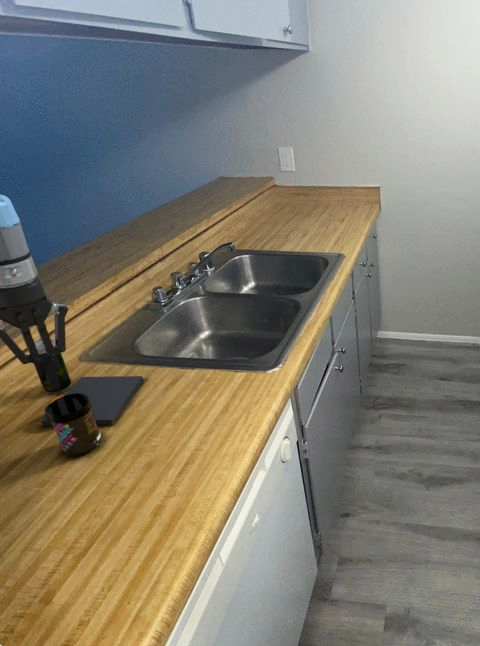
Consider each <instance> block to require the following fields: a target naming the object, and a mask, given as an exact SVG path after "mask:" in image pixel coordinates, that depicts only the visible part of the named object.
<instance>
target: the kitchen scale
mask: <svg viewBox="0 0 480 646" xmlns="http://www.w3.org/2000/svg"><path fill="white" fill-rule="evenodd" d="M143 382H144V376H143V375H127V376H126V375H125V376H124V375H121V376H119V375H117V376H116V375H115V376H113V375H112V376H81V377H80V378H79V379H78V380H77V381H76V382H75V383H74V384H73V385H72V386H71V387H70V388H69V389H68V391H67V392H66V393H65V395H63V396H66V395H69V394H77V393H79V394H85V395H87V396H88V398H89V401H90V403H91V407H92V410H93V413H94V416H95V419H96V422H97V425H98V426H113V425H115V422H116V421H117V420H118V418H119V417H120V415H122V412H123V411H124V409H126V407H127V405H128V404H129V403H130V401H131V399H132V398H133V397H134V395H135V394H136V392H137V391H138V390H139V388H140V386H141V385H142V384H143ZM50 404H51V402H50V403H48V404H47V405H46V406H45V407H44V415H45V416H44V418H42V420H41V421H40V422H41V425H42V427H53V424H52V422H51V420H50V418H49V415H48V413H47V407H48V406H49V405H50Z"/></svg>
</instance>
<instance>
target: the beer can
mask: <svg viewBox="0 0 480 646" xmlns="http://www.w3.org/2000/svg"><path fill="white" fill-rule="evenodd" d="M50 339H51V342H52V344H53V347H54V346H55V338H50ZM34 343H35V345H36V348H37V350H38V353H39V355H40V357H42V356H45V355H47V353H46V351H45V348H44V345H43V343H42V340H41V339H38V340H36V341H35V340H34ZM57 359H58V361H59V364H60V367H61V369H60V370H58V371H55V372H56V374H57V377H58V380H59V382H60V385H61V386H60V387H57V388H55V389H52V388H51V386H50V384H49V382H48V380H47V377H46V375H43V376H40V375H39V374H38V373H37V372H36V373H37V374H36V375H37V376H38V379H39V381H40V383H41V386H42V389H43V391H45V393H47V394H49V395H57V394H58V395H59V394H61V393H63V392H65V391H67V390H69V389H70V388H71V387H72V386H71V385H72V380H71V376H70V374H69V371H68V367H67V366H66V363H65V360H64V358H63V354H62V352H61V353H59V354H58V355H57ZM34 368H35V367H34ZM35 370H36V368H35Z"/></svg>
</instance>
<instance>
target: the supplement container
mask: <svg viewBox="0 0 480 646" xmlns="http://www.w3.org/2000/svg"><path fill="white" fill-rule="evenodd" d="M62 396H63V397H61V396H59V397H60V398H58V397H57V398H58V399H56V400H55V401H53V402H52V401H51V402H52V403H51V402H50V403H51V404H50V403H49V404H50V405H49V406H48V407H47V406H46V407H47V413H48V415H49V418H50V420H51V422H52V424H53V426H52V427H53V429H54V432H55V435H56V437H57V439H58V442H59V444H60V447H61V449H62V452H63V453H64V454H66V455H68V456H72V457H77V456H84V455H86V454H89V453H90V452H93V451H94V450H96V449H97V448H98V446H99V445H100V444H101V442H102V434H101V431H100V428H99V425H97V422H96V419H95V416H94V413H93V410H92V407H91V403H90V401H89V398H88V396H87V395H85V394H79V393H77V394H69V395H66V396H64V395H62Z"/></svg>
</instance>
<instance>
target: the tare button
mask: <svg viewBox="0 0 480 646" xmlns="http://www.w3.org/2000/svg"><path fill="white" fill-rule="evenodd" d="M63 396H64V395H61V396H58V397H55V398H54V399H52V400H51V401H50V403H52V402H53V401H55V400H56V399H58V398H60V397H63Z"/></svg>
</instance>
